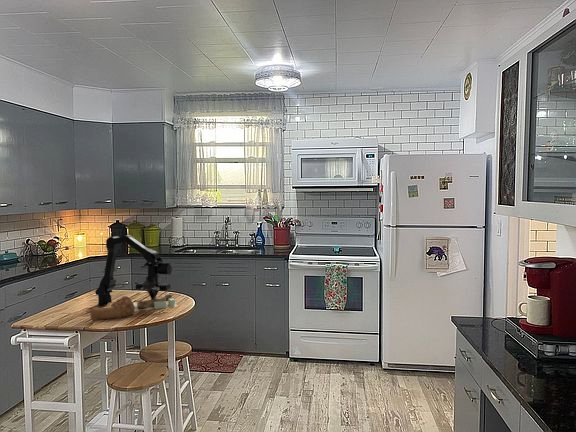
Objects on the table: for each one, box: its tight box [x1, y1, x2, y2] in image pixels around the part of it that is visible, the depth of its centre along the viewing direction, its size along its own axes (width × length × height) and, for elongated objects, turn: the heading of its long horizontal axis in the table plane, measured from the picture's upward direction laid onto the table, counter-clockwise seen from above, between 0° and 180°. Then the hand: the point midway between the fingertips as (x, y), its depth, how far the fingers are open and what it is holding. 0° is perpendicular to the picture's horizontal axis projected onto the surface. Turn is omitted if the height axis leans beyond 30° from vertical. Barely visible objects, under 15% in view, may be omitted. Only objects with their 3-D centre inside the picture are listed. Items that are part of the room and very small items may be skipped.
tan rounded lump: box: [90, 295, 136, 322], centre depth 240 cm, size 19×11×15 cm
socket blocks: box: [154, 297, 176, 310], centre depth 259 cm, size 11×7×3 cm, turn 114°
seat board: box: [133, 293, 179, 312], centre depth 264 cm, size 23×21×4 cm
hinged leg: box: [136, 296, 166, 309], centre depth 260 cm, size 16×4×4 cm, turn 141°
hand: (153, 301), depth 265 cm, fingers closed
